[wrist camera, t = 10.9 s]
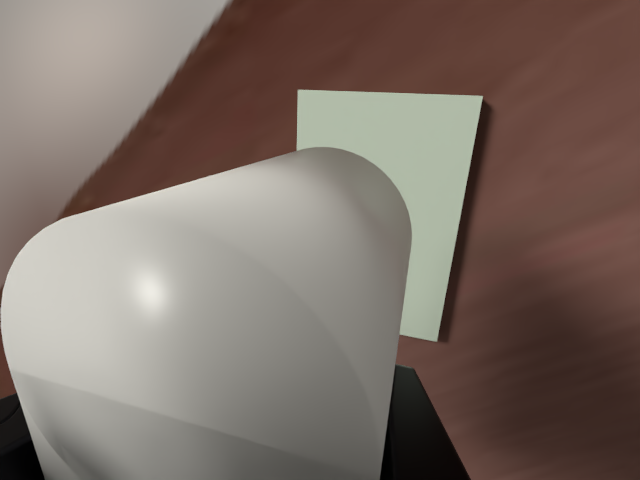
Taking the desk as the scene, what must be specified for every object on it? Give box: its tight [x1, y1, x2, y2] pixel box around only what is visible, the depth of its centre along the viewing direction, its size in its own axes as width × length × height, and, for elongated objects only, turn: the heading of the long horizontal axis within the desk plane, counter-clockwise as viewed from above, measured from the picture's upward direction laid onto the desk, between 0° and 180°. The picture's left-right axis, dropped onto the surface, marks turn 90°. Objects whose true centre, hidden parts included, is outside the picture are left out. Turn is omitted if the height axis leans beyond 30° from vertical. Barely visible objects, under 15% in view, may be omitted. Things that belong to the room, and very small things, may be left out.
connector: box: [1, 147, 412, 480], centre depth 7 cm, size 11×4×6 cm, turn 178°
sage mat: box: [297, 90, 483, 342], centre depth 18 cm, size 12×8×1 cm, turn 178°
